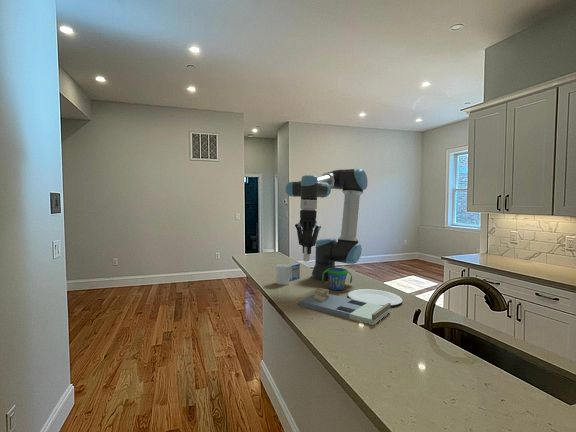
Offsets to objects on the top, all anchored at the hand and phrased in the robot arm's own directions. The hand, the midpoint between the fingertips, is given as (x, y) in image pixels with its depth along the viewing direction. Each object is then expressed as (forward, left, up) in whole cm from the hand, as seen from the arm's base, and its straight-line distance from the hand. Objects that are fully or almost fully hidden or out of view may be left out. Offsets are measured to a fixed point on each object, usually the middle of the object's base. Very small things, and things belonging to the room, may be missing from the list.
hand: (306, 260), depth 146 cm
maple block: (0, +8, -16) cm, 18 cm away
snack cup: (-26, +2, -18) cm, 32 cm away
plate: (-23, +24, -19) cm, 38 cm away
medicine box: (-27, -27, -18) cm, 42 cm away
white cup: (-15, -25, -18) cm, 34 cm away
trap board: (0, +19, -18) cm, 26 cm away
